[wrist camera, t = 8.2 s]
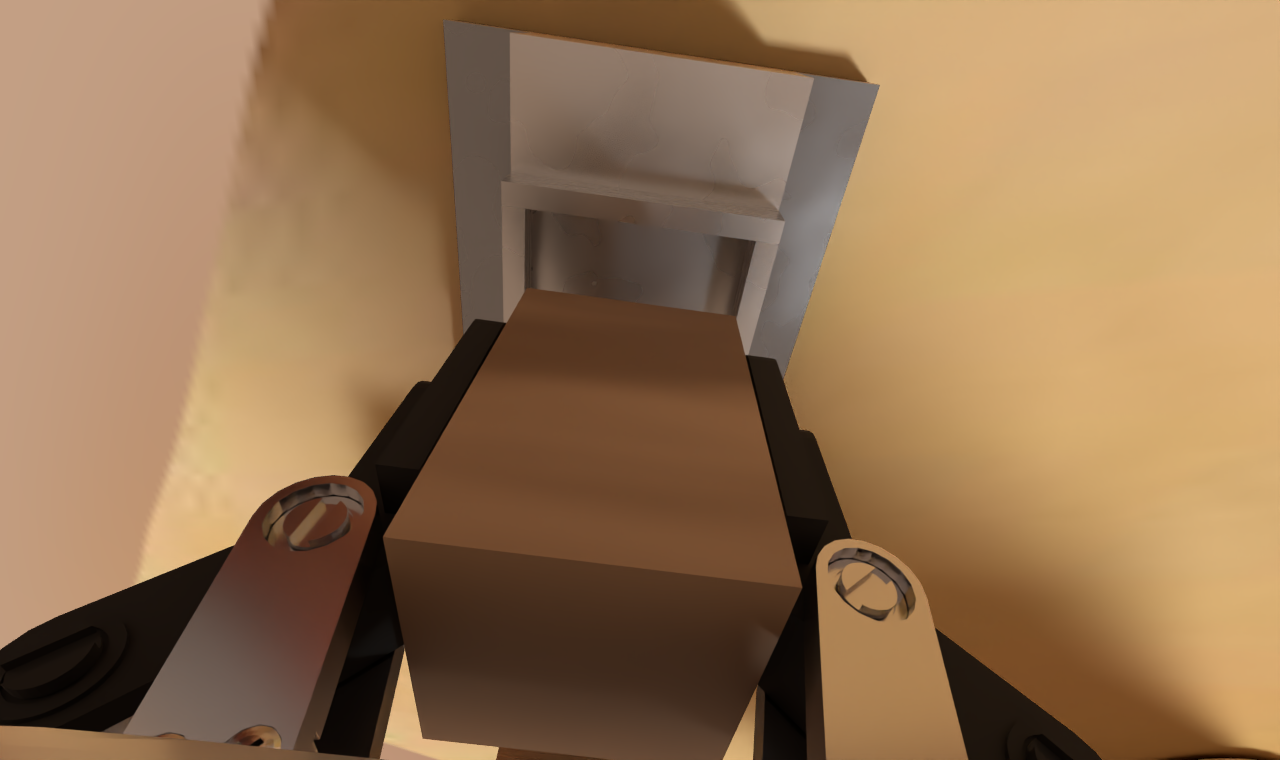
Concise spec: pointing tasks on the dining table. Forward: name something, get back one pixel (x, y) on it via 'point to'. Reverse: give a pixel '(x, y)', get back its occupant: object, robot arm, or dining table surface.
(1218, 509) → the dining table surface
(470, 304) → the rail
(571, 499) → the brown rectangular block
